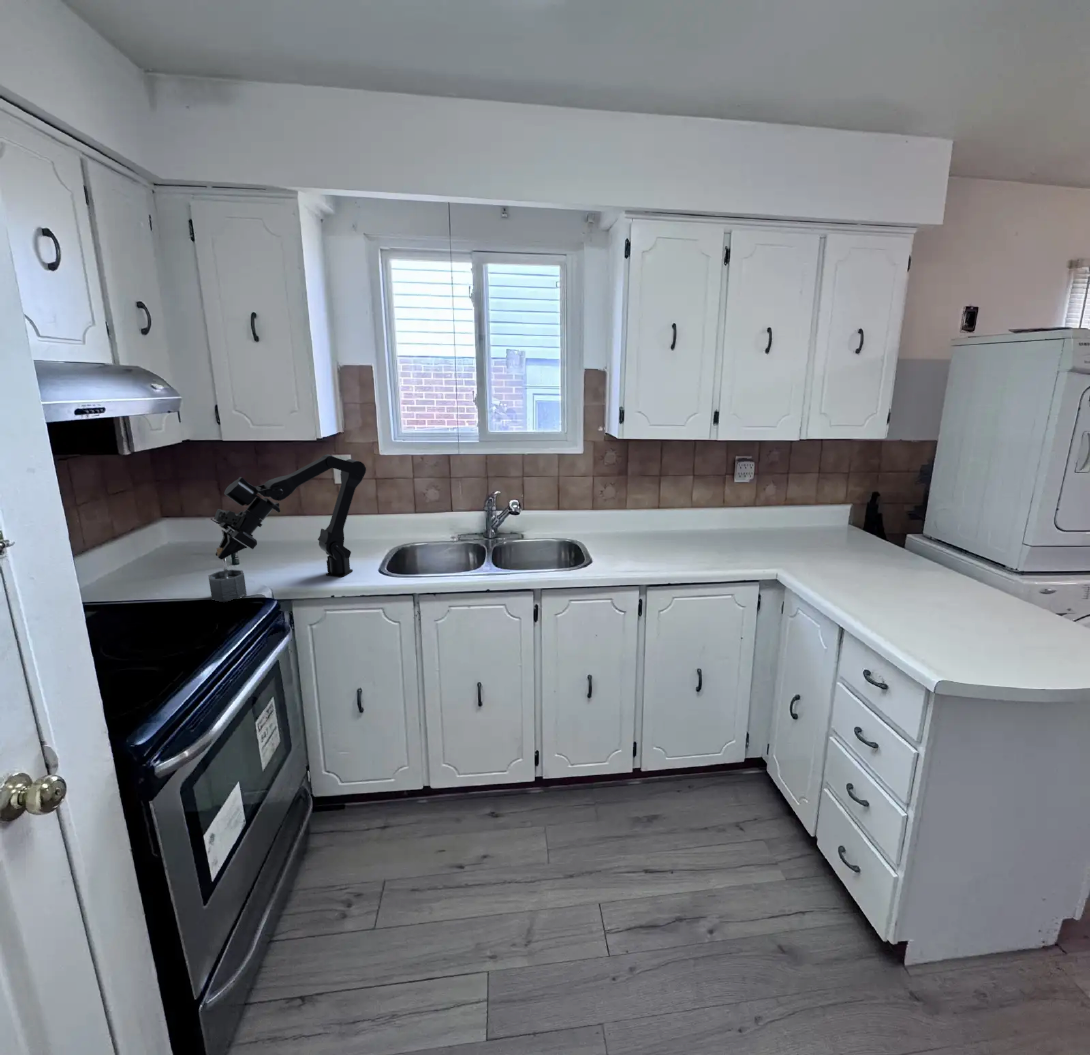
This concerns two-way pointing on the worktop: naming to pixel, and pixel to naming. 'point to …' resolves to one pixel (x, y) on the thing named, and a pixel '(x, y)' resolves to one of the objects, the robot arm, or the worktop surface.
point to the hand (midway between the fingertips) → (218, 557)
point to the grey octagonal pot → (227, 586)
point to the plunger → (224, 565)
